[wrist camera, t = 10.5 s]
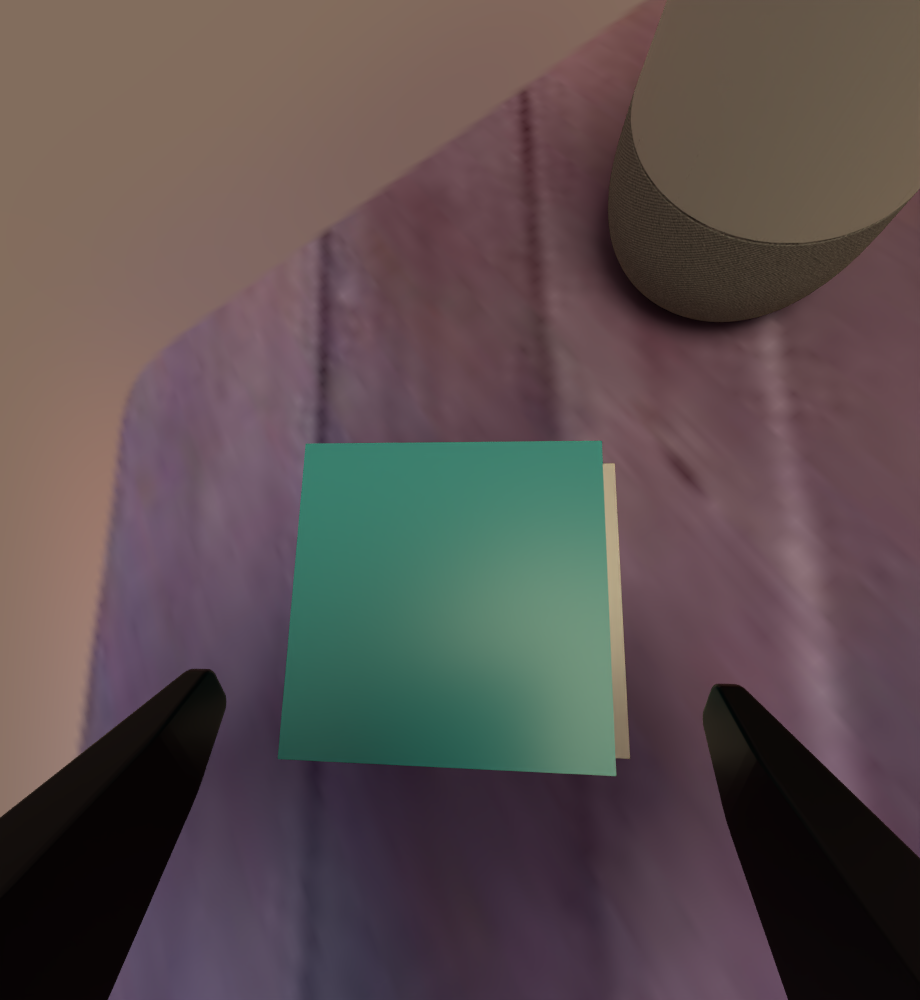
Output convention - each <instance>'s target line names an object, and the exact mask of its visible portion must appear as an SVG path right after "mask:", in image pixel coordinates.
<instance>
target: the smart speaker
mask: <svg viewBox="0 0 920 1000" xmlns="http://www.w3.org/2000/svg"><path fill="white" fill-rule="evenodd" d="M919 188H920V0H667V2H666V5H665V7H664V10H663V13H662V16H661V18H660V21H659V24H658V27H657V30H656V32H655V35H654V38H653V41H652V43H651V46H650V49H649V52H648V55H647V57H646V60H645V63H644V66H643V68H642V71H641V74H640V77H639V80H638V82H637V85H636V88H635V91H634V94H633V97H632V100H631V103H630V106H629V110H628V113H627V116H626V119H625V123H624V126H623V129H622V132H621V136H620V139H619V143H618V147H617V150H616V154H615V158H614V163H613V167H612V172H611V178H610V186H609V197H608V221H609V231H610V237H611V241H612V245H613V248H614V251H615V254H616V257H617V259H618V261H619V263H620V265H621V267H622V269H623V271H624V272H625V274H626V276H627V277H628V278H629V280H630V281H631V283H632V284H633V285H634V286H635V287H636V288H637V289H638V290H639V291H640V292H641V293H642V294H643V295H644V296H645V297H647V298H648V299H649V300H651V301H652V302H654V303H655V304H657V305H658V306H660V307H662V308H664V309H666V310H668V311H670V312H672V313H675V314H677V315H680V316H683V317H687V318H690V319H695V320H700V321H708V322H731V321H740V320H746V319H751V318H756V317H760V316H763V315H767V314H769V313H772V312H775V311H778V310H780V309H782V308H784V307H787V306H789V305H791V304H793V303H795V302H796V301H798V300H800V299H802V298H804V297H805V296H807V295H809V294H810V293H812V292H813V291H815V290H816V289H818V288H819V287H821V286H822V285H824V284H825V283H827V282H828V281H829V280H831V279H832V278H833V277H834V276H836V275H837V274H838V273H839V272H841V271H842V270H843V269H844V268H845V267H847V266H848V265H849V264H850V263H851V262H852V261H853V260H854V259H855V258H856V257H857V256H859V255H860V253H861V252H862V251H863V250H864V249H865V248H866V247H867V246H868V245H869V244H870V243H871V242H872V241H873V240H874V239H875V238H876V237H877V236H878V235H879V234H880V233H881V232H882V231H883V229H884V228H885V227H886V226H887V225H888V224H889V223H890V222H891V220H892V219H893V218H894V217H895V216H896V215H897V214H898V212H899V211H900V210H901V209H902V208H903V207H904V206H905V205H906V203H907V202H908V201H909V200H910V199H911V198H912V197H913V195H914V194H915V193H916V192H917V191H918V190H919Z"/></svg>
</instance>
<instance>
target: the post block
mask: <svg viewBox="0 0 920 1000" xmlns="http://www.w3.org/2000/svg"><path fill="white" fill-rule="evenodd" d="M603 481H604V504H605V527H606V550H607V573H608V596H609V619H610V642H611V665H612V688H613V711H614V734H615V757H616V758H625V759H630V749H629V730H628V711H627V692H626V673H625V654H624V635H623V615H622V596H621V577H620V558H619V539H618V520H617V501H616V482H615V464H603Z"/></svg>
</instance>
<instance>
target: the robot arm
mask: <svg viewBox="0 0 920 1000" xmlns="http://www.w3.org/2000/svg"><path fill="white" fill-rule="evenodd" d="M225 708H226V695H225V693H224V691H223V689H222V687H221V685H220V683H219V681H218V679H217V677H216V675H215V673H214V672H213V671H212V670H210V669H190V670H188V671H186V672H184V673H183V674H182V675H180V676H179V677H178V678H177V679H175V680H174V681H173V682H171V683H170V684H169V685H168V686H166V687H165V688H164V689H163V690H161V691H160V692H159V693H158V694H156V695H155V696H154V697H152V698H151V699H150V700H149V701H147V702H146V703H145V704H144V705H142V706H141V707H140V708H139V709H137V710H136V711H135V712H133V713H132V714H131V715H130V716H128V717H127V718H126V719H125V720H123V721H122V722H121V723H119V724H118V725H117V726H116V727H114V728H113V729H112V730H111V731H109V732H108V733H107V734H106V735H104V736H103V737H102V738H100V739H99V740H98V741H97V742H95V743H94V744H93V745H92V746H90V747H89V748H88V749H87V750H85V751H84V752H83V753H81V754H80V755H79V756H78V757H76V758H75V759H74V760H73V761H71V762H70V763H69V764H68V765H66V766H65V767H64V768H63V769H61V770H60V771H59V772H57V773H56V774H55V775H54V776H52V777H51V778H50V779H48V780H47V781H46V782H45V783H43V784H42V785H41V786H40V787H38V788H37V789H36V790H35V791H33V792H32V793H31V794H29V795H28V796H27V797H26V798H24V799H23V800H22V801H21V802H19V803H18V804H17V805H16V806H14V807H13V808H12V809H11V810H9V811H8V812H7V813H5V814H4V815H3V816H2V817H0V1000H108V998H109V996H110V994H111V991H112V989H113V987H114V984H115V982H116V980H117V977H118V975H119V973H120V971H121V968H122V966H123V964H124V961H125V959H126V957H127V954H128V952H129V950H130V948H131V945H132V943H133V941H134V938H135V936H136V934H137V931H138V929H139V927H140V925H141V922H142V920H143V918H144V915H145V913H146V911H147V908H148V906H149V904H150V902H151V899H152V897H153V895H154V892H155V890H156V888H157V885H158V883H159V881H160V879H161V876H162V874H163V872H164V869H165V867H166V865H167V862H168V860H169V858H170V856H171V853H172V851H173V849H174V846H175V844H176V842H177V839H178V837H179V835H180V833H181V830H182V828H183V826H184V823H185V821H186V819H187V816H188V814H189V812H190V810H191V807H192V805H193V802H194V800H195V798H196V795H197V793H198V790H199V787H200V784H201V781H202V779H203V776H204V773H205V770H206V766H207V763H208V760H209V757H210V754H211V751H212V748H213V745H214V742H215V739H216V736H217V733H218V730H219V727H220V724H221V721H222V718H223V715H224V712H225ZM703 726H704V730H705V734H706V739H707V743H708V747H709V751H710V755H711V760H712V764H713V768H714V772H715V776H716V781H717V785H718V789H719V793H720V798H721V802H722V806H723V810H724V813H725V817H726V821H727V824H728V827H729V830H730V834H731V837H732V840H733V842H734V845H735V848H736V851H737V854H738V857H739V860H740V863H741V865H742V868H743V871H744V874H745V877H746V880H747V883H748V886H749V889H750V891H751V894H752V897H753V900H754V903H755V906H756V909H757V912H758V914H759V917H760V920H761V923H762V926H763V929H764V932H765V935H766V937H767V940H768V943H769V946H770V949H771V952H772V955H773V958H774V961H775V963H776V966H777V969H778V972H779V975H780V978H781V981H782V984H783V986H784V989H785V992H786V995H787V998H788V1000H920V858H919V857H918V856H917V855H916V854H915V853H914V852H913V851H912V850H911V849H910V848H909V847H908V846H907V845H906V844H905V843H904V842H903V841H902V840H901V839H900V838H898V837H897V836H896V835H895V834H894V833H893V832H892V831H891V830H890V829H889V828H888V827H887V826H886V825H885V824H884V823H883V822H882V821H881V820H880V819H879V818H878V817H877V816H876V815H875V814H874V813H873V812H872V811H871V810H870V809H869V808H867V807H866V806H865V805H864V804H863V803H862V802H861V801H860V800H859V799H858V798H857V797H856V796H855V795H854V794H853V793H852V792H851V791H850V790H849V789H848V788H847V787H846V786H845V785H844V784H843V783H842V782H841V781H840V780H839V779H838V778H837V777H835V776H834V775H833V774H832V773H831V772H830V771H829V770H828V769H827V768H826V767H825V766H824V765H823V764H822V763H821V762H820V761H819V760H818V759H817V758H816V757H815V756H814V755H813V754H812V753H811V752H810V751H809V750H808V749H807V748H806V747H804V746H803V745H802V744H801V743H800V742H799V741H798V740H797V739H796V738H795V737H794V736H793V735H792V734H791V733H790V732H789V731H788V730H787V729H786V728H785V727H784V726H783V725H782V724H781V723H780V722H779V721H778V720H777V719H776V718H775V717H774V716H772V715H771V714H770V713H769V712H768V711H767V710H766V709H765V708H764V707H763V706H762V705H761V704H760V703H759V702H758V701H757V700H756V699H755V698H754V697H753V696H752V695H751V694H750V693H749V692H748V691H747V690H746V689H744V688H743V687H741V686H740V685H736V684H715V685H714V686H713V687H712V689H711V692H710V694H709V697H708V700H707V703H706V705H705V708H704V711H703Z"/></svg>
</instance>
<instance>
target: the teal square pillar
mask: <svg viewBox="0 0 920 1000" xmlns="http://www.w3.org/2000/svg"><path fill="white" fill-rule="evenodd" d="M278 759H286V760H306V761H326V762H345V763H365V764H385V765H405V766H425V767H445V768H465V769H485V770H504V771H524V772H544V773H564V774H584V775H604V776H616V757H615V734H614V711H613V688H612V665H611V642H610V619H609V596H608V573H607V550H606V527H605V504H604V481H603V458H602V441H535V442H435V443H334V444H306V447H305V458H304V470H303V481H302V492H301V503H300V514H299V526H298V537H297V548H296V559H295V570H294V582H293V593H292V604H291V615H290V627H289V638H288V649H287V660H286V671H285V683H284V694H283V705H282V716H281V727H280V739H279V750H278Z"/></svg>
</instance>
